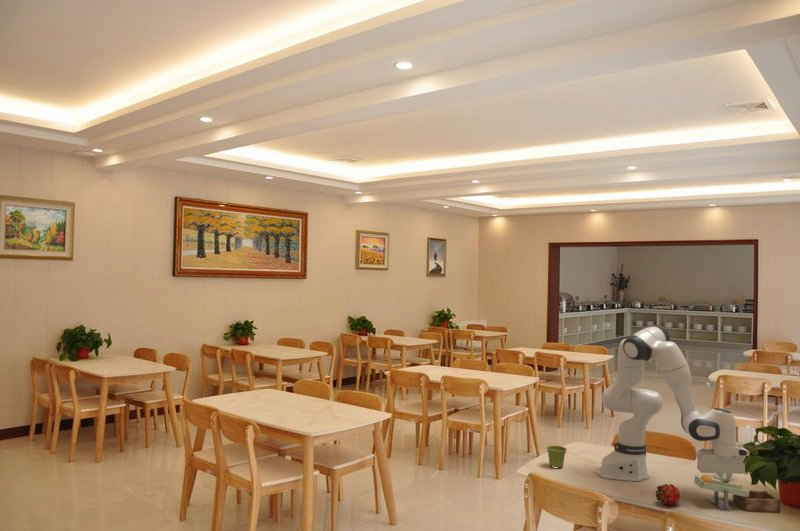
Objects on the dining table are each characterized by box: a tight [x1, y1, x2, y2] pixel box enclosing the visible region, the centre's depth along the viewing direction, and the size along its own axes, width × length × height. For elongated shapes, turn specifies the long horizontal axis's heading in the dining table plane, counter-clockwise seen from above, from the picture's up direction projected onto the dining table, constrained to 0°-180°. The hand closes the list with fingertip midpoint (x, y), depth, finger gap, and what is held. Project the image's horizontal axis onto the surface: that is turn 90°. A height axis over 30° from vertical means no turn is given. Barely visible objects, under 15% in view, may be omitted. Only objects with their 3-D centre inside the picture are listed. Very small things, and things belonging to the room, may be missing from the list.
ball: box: [700, 473, 713, 483], centre depth 240 cm, size 4×4×4 cm
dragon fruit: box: [655, 483, 682, 507], centre depth 241 cm, size 8×8×12 cm
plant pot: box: [546, 445, 568, 467], centre depth 288 cm, size 9×9×9 cm
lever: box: [693, 475, 751, 497], centre depth 243 cm, size 18×13×3 cm
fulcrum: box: [709, 490, 734, 512], centre depth 240 cm, size 4×10×7 cm, turn 175°
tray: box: [732, 490, 781, 513], centre depth 238 cm, size 13×10×4 cm
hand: (724, 483), depth 246 cm, fingers closed, pressing on lever
